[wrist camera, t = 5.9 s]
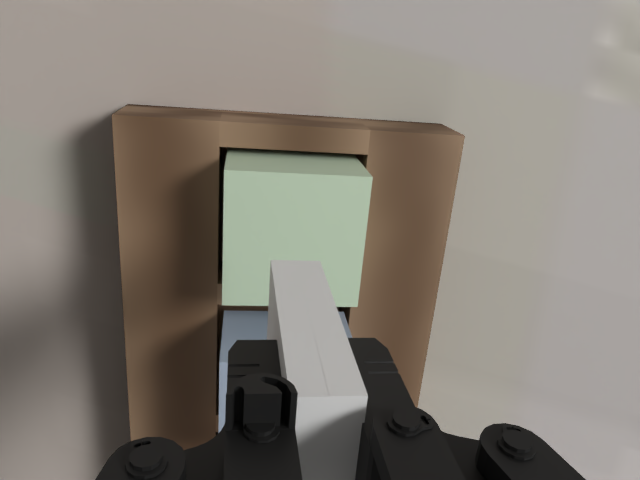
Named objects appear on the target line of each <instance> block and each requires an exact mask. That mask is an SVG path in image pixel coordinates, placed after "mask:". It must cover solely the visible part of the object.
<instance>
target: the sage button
mask: <svg viewBox="0 0 640 480" xmlns="http://www.w3.org/2000/svg"><path fill="white" fill-rule="evenodd" d="M372 180H373V177H372V176H371V174H370V173H369V172H368V171H367V169H366V168H365V167H364V166H363V165H362V163H361V162H360V161H359V160H358V159H357V157H356V156H355V155H354V154H346V153H327V152H309V151H290V150H271V149H252V148H233V147H228V150H227V156H226V162H225V167H224V202H223V266H222V305H231V306H268V304H269V283H270V263H271V260H302V261H320V262H321V265H322V268H323V270H324V273H325V276H326V279H327V282H328V284H329V287H330V290H331V293H332V296H333V299H334V301H335V304H336V307H358V299H359V290H360V282H361V273H362V265H363V256H364V248H365V239H366V231H367V222H368V214H369V205H370V197H371V188H372Z"/></svg>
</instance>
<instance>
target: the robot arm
mask: <svg viewBox="0 0 640 480" xmlns="http://www.w3.org/2000/svg"><path fill="white" fill-rule="evenodd" d="M95 480H586V479H584V478H583V477H582V476H581V475H580V474H579V473H578V472H577V471H576V470H575V469H574V468H573V467H571V466H570V465H569V464H568V463H567V462H566V461H565V460H564V459H563V458H562V457H561V456H560V455H559V454H557V453H556V452H555V451H554V450H553V449H552V448H551V447H550V446H549V445H548V444H547V443H546V442H545V441H543V440H542V439H541V438H540V437H538V436H537V435H535V434H534V433H533V432H531V431H529V430H527V429H524V428H522V427H520V426H516V425H511V424H506V423H503V424H492V425H490V426H488V427H486V428H485V429H484V430H483V432H482V433H481V435H480V439H479V440H474V439H469V438H464V437H459V436H455V435H451V434H447V433H444V432H442V431H441V430H440V428H439V426H438V424H437V423H436V422H435V420H434V419H433V418H432V417H431V416H430V415H429V414H427V413H426V412H424V411H423V410H421V409H419V408H416V407H415V405H414V403H413V401H412V399H411V397H410V395H409V393H408V390H407V388H406V386H405V384H404V382H403V380H402V378H401V376H400V374H398V369H397V367H396V365H395V363H394V361H393V359H392V356H391V354H390V352H389V350H388V348H387V347H385V346H384V345H383V344H382V343H381V342H379V341H378V340H377V339H376V338H347V335H346V332H345V329H344V327H343V324H342V321H341V318H340V315H339V313H338V310H337V307H336V304H335V301H334V299H333V296H332V293H331V290H330V287H329V284H328V282H327V279H326V276H325V273H324V270H323V268H322V265H321V262H320V261H302V260H271V263H270V283H269V304H268V324H267V340H237V341H236V342H235V343H234V344H233V346H232V347H231V348H230V350H229V351H228V371H227V393H226V409H225V424H224V426H223V428H222V430H221V431H220V432H219V433H218V434H217V435H216V436H215V437H214V438H213V439H211V440H209V441H208V442H206V443H204V444H201V445H199V446H196V447H193V448H189V449H186V450H183V448H182V447H181V446H180V445H178V444H177V443H176V442H175V441H173V440H170V439H166V438H163V437H144V438H140V439H137V440H133V441H130V442H129V443H127V444H125V445H123V446H122V447H120V448H118V449H117V450H116V451H115V452H114V454H113V455H112V456H111V457H110V458H109V459H108V461H107V462H106V464H105V465H104V467H103V469H102V470H101V472H100V473H99V475H98V476H97V478H96V479H95Z"/></svg>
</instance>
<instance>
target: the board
mask: <svg viewBox="0 0 640 480" xmlns="http://www.w3.org/2000/svg"><path fill="white" fill-rule="evenodd" d="M112 129H113V146H114V164H115V181H116V198H117V215H118V232H119V249H120V266H121V283H122V300H123V317H124V334H125V351H126V368H127V385H128V402H129V419H130V436H131V441H133V440H137V439H140V438H144V437H163V438H166V439H170V440H173V441H175V442H176V443H177V444H178V445H180V446H181V447H182V448H183V450H186V449H189V448H193V447H196V446H199V445H201V444H204V443H206V442H208V441H209V440H211V439H213V438H214V437H215V436H216V435H217V434H218V427H219V362H220V350H221V339H222V328H223V317H224V311H268V306H231V305H222V266H223V202H224V167H225V162H226V156H227V150H228V147H233V148H252V149H271V150H290V151H309V152H327V153H346V154H354V155H355V156H356V157H357V159H358V160H359V161H360V162H361V163H362V165H363V166H364V167H365V168H366V169H367V171H368V172H369V173H370V174H371V176H372V177H373V180H372V188H371V197H370V205H369V214H368V222H367V231H366V239H365V248H364V256H363V265H362V273H361V282H360V290H359V299H358V307H337V310H338V312H344V314H345V317H346V320H347V323H348V326H349V329H350V332H351V335H352V338H376V339H377V340H378V341H379V342H381V343H382V344H383V345H384V346H385V347H387V348H388V350H389V352H390V354H391V356H392V359H393V361H394V363H395V365H396V367H397V369H398V374H400V376H401V378H402V380H403V382H404V384H405V386H406V388H407V390H408V393H409V395H410V397H411V399H412V401H413V403H414V405H415V407H416V408H417V406H418V400H419V395H420V389H421V383H422V378H423V372H424V366H425V361H426V355H427V349H428V343H429V338H430V332H431V326H432V321H433V315H434V309H435V303H436V298H437V292H438V286H439V281H440V275H441V269H442V264H443V258H444V252H445V246H446V241H447V235H448V229H449V224H450V218H451V212H452V206H453V201H454V195H455V189H456V184H457V178H458V172H459V167H460V161H461V155H462V149H463V144H464V138H465V136H464V135H462V134H460V133H458V132H456V131H454V130H452V129H450V128H448V127H446V126H444V125H442V124H435V123H419V122H403V121H387V120H372V119H356V118H340V117H324V116H308V115H292V114H276V113H260V112H244V111H228V110H212V109H196V108H180V107H165V106H149V105H133V104H128V105H126V106H125V107H123V108H121V109H120V110H118V111H117V112H115V113H113V114H112Z"/></svg>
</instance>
